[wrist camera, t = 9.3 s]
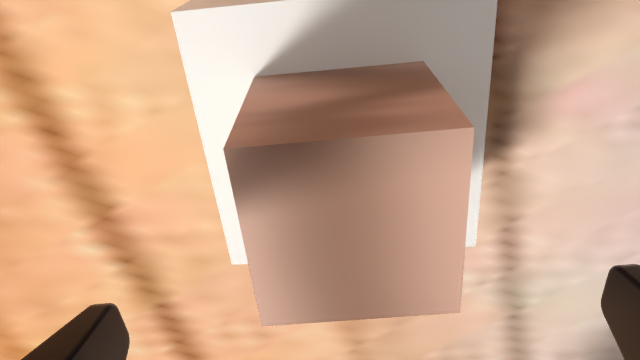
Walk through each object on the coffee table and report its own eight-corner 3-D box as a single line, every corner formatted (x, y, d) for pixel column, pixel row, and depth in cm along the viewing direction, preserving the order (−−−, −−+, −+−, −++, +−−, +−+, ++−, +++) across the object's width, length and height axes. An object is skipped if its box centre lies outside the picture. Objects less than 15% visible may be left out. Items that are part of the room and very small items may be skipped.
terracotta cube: (423, 61, 13) (474, 127, 9) (421, 205, 16) (459, 312, 11) (253, 76, 14) (223, 148, 9) (277, 216, 16) (261, 326, 12)
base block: (459, -34, 16) (499, -22, 12) (448, 190, 20) (475, 246, 17) (202, -7, 16) (171, 12, 13) (246, 207, 20) (232, 264, 17)
